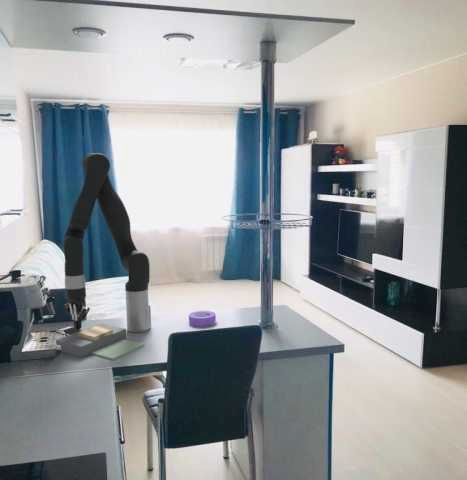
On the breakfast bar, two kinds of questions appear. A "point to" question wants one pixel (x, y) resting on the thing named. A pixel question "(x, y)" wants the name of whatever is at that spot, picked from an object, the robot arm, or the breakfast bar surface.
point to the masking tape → (202, 318)
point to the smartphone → (70, 330)
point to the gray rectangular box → (89, 341)
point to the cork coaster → (95, 333)
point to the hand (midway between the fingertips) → (77, 329)
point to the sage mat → (118, 349)
